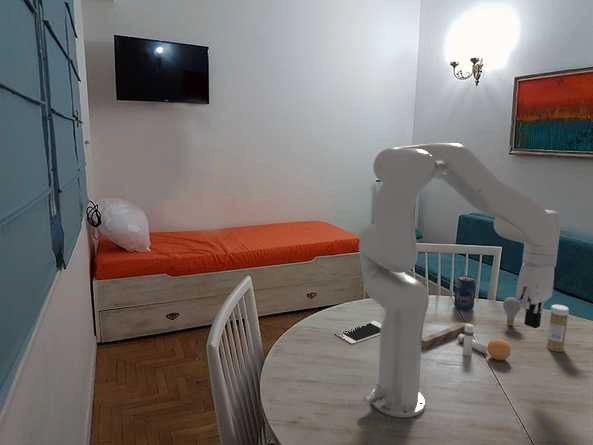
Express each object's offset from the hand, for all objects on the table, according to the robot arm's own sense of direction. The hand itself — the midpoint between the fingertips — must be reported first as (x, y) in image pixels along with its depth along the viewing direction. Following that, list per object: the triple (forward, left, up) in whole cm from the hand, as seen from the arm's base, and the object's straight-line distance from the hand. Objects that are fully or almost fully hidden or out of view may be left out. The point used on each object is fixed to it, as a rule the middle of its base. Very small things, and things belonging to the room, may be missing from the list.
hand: (532, 325), depth 114 cm
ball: (+2, +9, -11) cm, 15 cm away
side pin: (-3, +16, -14) cm, 22 cm away
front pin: (+2, +13, -13) cm, 19 cm away
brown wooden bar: (0, +26, -14) cm, 30 cm away
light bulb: (+27, +20, -14) cm, 37 cm away
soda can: (+27, +38, -14) cm, 49 cm away
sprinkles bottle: (+22, +3, -14) cm, 26 cm away
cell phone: (-18, +44, -15) cm, 50 cm away
